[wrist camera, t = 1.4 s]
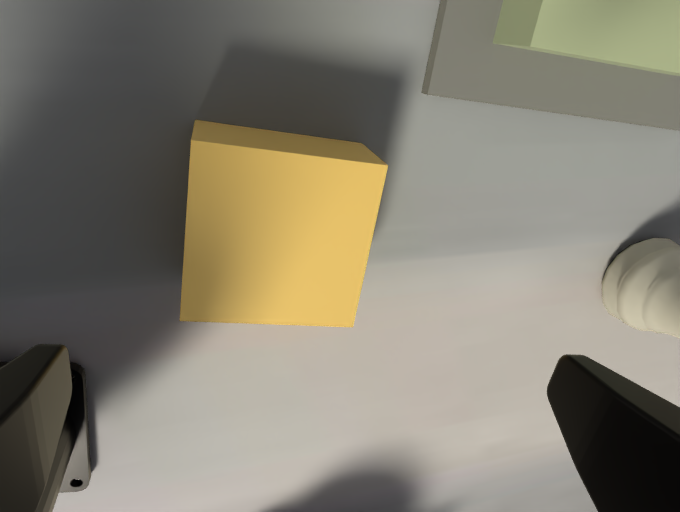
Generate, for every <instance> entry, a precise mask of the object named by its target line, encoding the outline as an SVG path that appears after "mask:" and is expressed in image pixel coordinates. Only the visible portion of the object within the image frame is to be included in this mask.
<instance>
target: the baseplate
mask: <svg viewBox="0 0 680 512" xmlns="http://www.w3.org/2000/svg"><path fill="white" fill-rule="evenodd" d="M422 93H424V94H427V95H433V96H440V97H448V98H455V99H462V100H469V101H476V102H483V103H490V104H497V105H504V106H511V107H518V108H525V109H532V110H539V111H546V112H553V113H560V114H567V115H574V116H581V117H588V118H595V119H602V120H609V121H616V122H623V123H630V124H637V125H644V126H651V127H658V128H665V129H672V130H680V0H441V1H440V6H439V10H438V15H437V20H436V25H435V30H434V35H433V40H432V44H431V49H430V54H429V59H428V64H427V69H426V74H425V78H424V83H423V88H422Z"/></svg>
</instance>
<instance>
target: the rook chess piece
mask: <svg viewBox="0 0 680 512" xmlns="http://www.w3.org/2000/svg"><path fill="white" fill-rule="evenodd" d="M602 299H603V304H604V306H605V307H606V309H607V311H608V313H609V314H610V315H612V316H614V317H616V318H618V319H620V320H622V321H623V323H625V324H627V325H629V326H631V327H633V328H635V329H638V330H641V331H653V332H655V333H666V334H669V335H672V336H675V337H677V338H679V339H680V246H679V245H678V244H676V243H675V242H673V241H672V240H670V239H665V238H652V239H648V240H644V241H641V242H639V243H636V244H633V245H630V246H629V247H628V248H626V249H625V250H624V251H622V252H621V253H619V254H618V255H617V256H616V257H615V259H614V260H613V261H612V263H611V264H610V265H609V266H608V268H607V270H606V273H605V275H604V278H603V281H602Z"/></svg>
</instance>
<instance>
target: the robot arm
mask: <svg viewBox="0 0 680 512" xmlns="http://www.w3.org/2000/svg"><path fill="white" fill-rule="evenodd" d="M71 375H73V376H75V378H71ZM547 396H548V400H549V402H550V405H551V407H552V410H553V412H554V415H555V417H556V420H557V422H558V425H559V427H560V430H561V432H562V435H563V437H564V440H565V442H566V445H567V447H568V450H569V452H570V455H571V457H572V460H573V462H574V464H575V467H576V469H577V471H578V473H579V475H580V477H581V479H582V481H583V483H584V485H585V487H586V489H587V491H588V493H589V495H590V497H591V499H592V501H593V503H594V505H595V507H596V509H597V511H598V512H680V407H678V406H676V405H674V404H672V403H671V402H669V401H667V400H665V399H663V398H661V397H660V396H658V395H656V394H654V393H652V392H650V391H649V390H647V389H645V388H643V387H641V386H639V385H638V384H636V383H634V382H632V381H630V380H628V379H627V378H625V377H623V376H621V375H619V374H617V373H616V372H614V371H612V370H610V369H608V368H607V367H605V366H603V365H601V364H599V363H597V362H596V361H594V360H592V359H590V358H588V357H586V356H584V355H563V356H562V357H561V358H560V359H559V361H558V363H557V365H556V367H555V370H554V372H553V374H552V377H551V379H550V381H549V384H548V387H547ZM90 478H91V464H90V447H89V430H88V413H87V396H86V379H85V371H84V369H83V367H82V366H81V365H78V364H76V363H70V362H69V354H68V350H67V348H66V347H65V346H64V345H61V344H39V345H36V346H34V347H32V348H31V349H29V350H28V351H26V352H25V353H23V354H21V355H20V356H18V357H17V358H15V359H14V360H12V361H11V362H0V512H52V511H53V508H54V505H55V502H56V499H57V496H58V493H62V492H77V491H82V490H84V489H86V488H87V486H88V485H89V481H90ZM76 479H80V480H76Z"/></svg>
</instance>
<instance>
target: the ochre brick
mask: <svg viewBox="0 0 680 512" xmlns="http://www.w3.org/2000/svg"><path fill="white" fill-rule="evenodd" d="M387 168H388V165H387V164H386V163H385V162H383V161H382V160H381V159H380V158H379V157H378V156H376V155H375V154H374V153H373V152H372V151H370V150H369V149H368V148H367V147H366V146H365V145H363V144H362V143H357V142H350V141H343V140H336V139H329V138H321V137H314V136H307V135H300V134H293V133H286V132H279V131H272V130H264V129H257V128H250V127H243V126H236V125H229V124H222V123H214V122H207V121H200V120H195V123H194V128H193V133H192V138H191V148H190V164H189V180H188V196H187V212H186V228H185V243H184V259H183V275H182V291H181V307H180V321H194V322H222V323H250V324H278V325H306V326H334V327H353V325H354V320H355V315H356V311H357V306H358V302H359V297H360V292H361V288H362V283H363V279H364V274H365V269H366V265H367V260H368V256H369V251H370V247H371V242H372V237H373V233H374V228H375V224H376V219H377V214H378V210H379V205H380V201H381V196H382V191H383V187H384V182H385V178H386V173H387Z"/></svg>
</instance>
